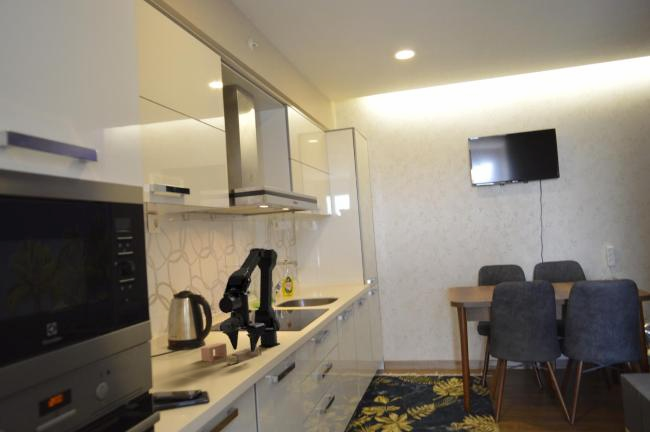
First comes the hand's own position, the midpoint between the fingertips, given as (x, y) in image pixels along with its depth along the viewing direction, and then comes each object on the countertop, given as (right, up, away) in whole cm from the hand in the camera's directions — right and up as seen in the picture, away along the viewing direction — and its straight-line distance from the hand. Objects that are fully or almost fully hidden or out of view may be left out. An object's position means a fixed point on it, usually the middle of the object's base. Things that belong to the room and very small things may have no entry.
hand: (243, 350), depth 174 cm
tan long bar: (0, -3, 0) cm, 3 cm away
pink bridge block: (-12, -4, +5) cm, 14 cm away
